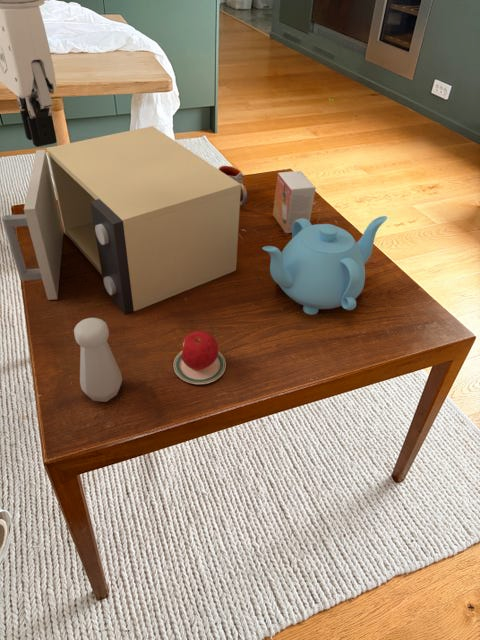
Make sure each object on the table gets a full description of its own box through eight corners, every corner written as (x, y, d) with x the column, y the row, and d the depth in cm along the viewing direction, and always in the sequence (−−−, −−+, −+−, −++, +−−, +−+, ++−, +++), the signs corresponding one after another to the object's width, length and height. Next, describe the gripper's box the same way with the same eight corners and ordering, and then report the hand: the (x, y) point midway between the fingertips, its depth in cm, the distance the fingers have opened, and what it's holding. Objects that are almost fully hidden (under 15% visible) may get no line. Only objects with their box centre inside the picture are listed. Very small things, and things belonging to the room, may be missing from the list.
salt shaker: (80, 381, 73) (64, 315, 64) (119, 372, 75) (108, 306, 66) (85, 411, 69) (69, 345, 60) (127, 401, 71) (116, 335, 62)
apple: (191, 394, 72) (190, 363, 68) (164, 361, 77) (161, 330, 73) (235, 372, 76) (237, 341, 72) (207, 341, 81) (207, 311, 76)
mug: (208, 192, 119) (209, 166, 114) (234, 188, 121) (236, 162, 117) (229, 216, 111) (230, 189, 106) (256, 211, 113) (258, 184, 109)
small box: (272, 215, 112) (276, 171, 105) (295, 213, 114) (301, 169, 107) (285, 234, 106) (290, 189, 99) (308, 231, 108) (316, 186, 101)
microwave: (121, 316, 84) (107, 224, 72) (53, 236, 101) (33, 150, 89) (236, 270, 96) (241, 184, 84) (157, 205, 113) (152, 125, 101)
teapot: (370, 278, 96) (388, 214, 87) (345, 341, 82) (363, 273, 73) (291, 256, 100) (300, 193, 91) (255, 312, 87) (261, 244, 77)
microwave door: (22, 302, 85) (-7, 210, 74) (33, 235, 101) (11, 150, 89) (57, 299, 86) (34, 208, 75) (63, 233, 102) (45, 149, 90)
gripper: (-44, -21, 62) (-3, 127, 74) (-3, 2, 52) (36, 167, 65) (17, -24, 65) (46, 118, 77) (66, -2, 56) (90, 155, 68)
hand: (41, 140), depth 71 cm, fingers closed
